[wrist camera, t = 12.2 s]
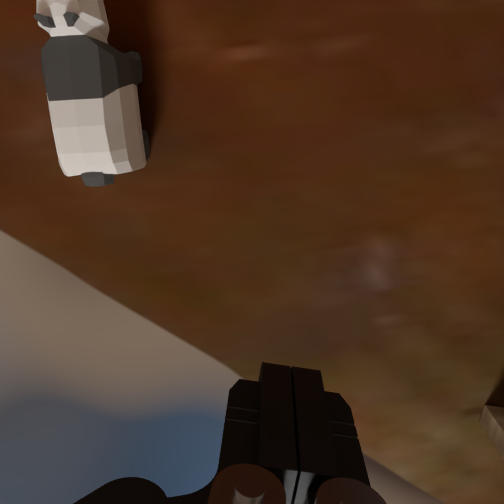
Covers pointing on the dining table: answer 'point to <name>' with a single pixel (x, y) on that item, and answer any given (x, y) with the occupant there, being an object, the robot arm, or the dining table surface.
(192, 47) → the dining table surface
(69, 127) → the giant panda
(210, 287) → the dining table surface
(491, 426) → the riser
